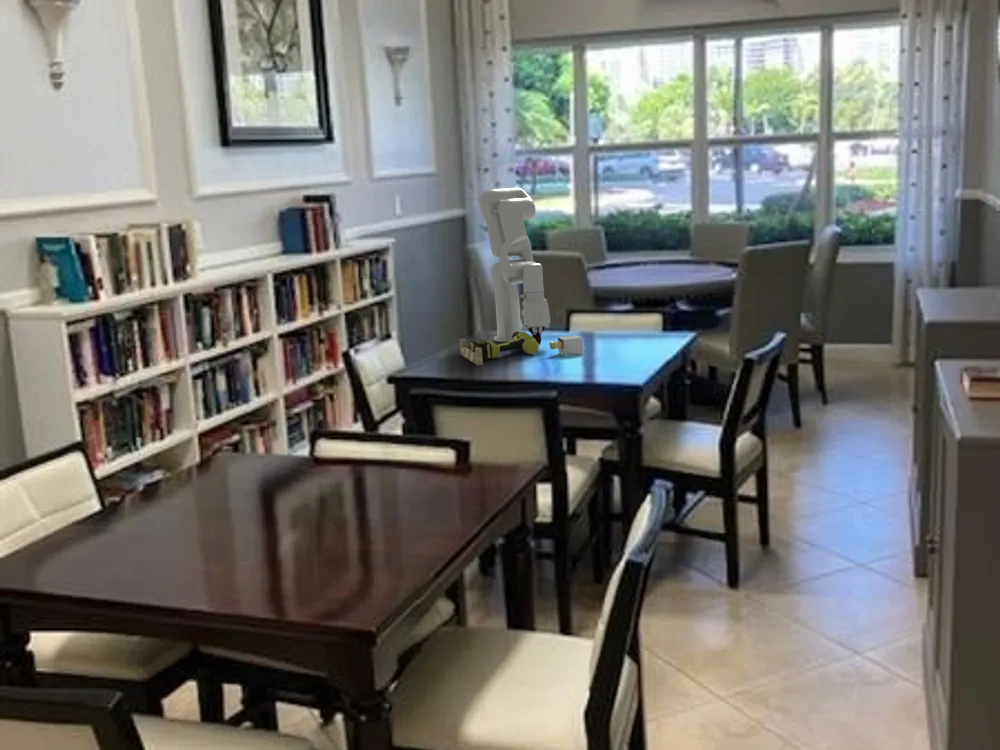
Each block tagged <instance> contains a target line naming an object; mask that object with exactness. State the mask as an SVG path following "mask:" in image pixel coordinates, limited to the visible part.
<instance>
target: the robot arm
mask: <svg viewBox="0 0 1000 750" xmlns="http://www.w3.org/2000/svg"><path fill="white" fill-rule="evenodd" d="M479 208H480V212H481V214H482V216H483V220H484V221H485V224H486V227H487V232H488V239H489V247H490V251H491V254H492V256H493V257H495V258H497V259H498V261H496V262H495V263H494V264H493V265H492V266H491V268H490V273H491V280H492V284H493V290H494V299H495V302H494V303H495V317H496V331H497V332H496V333H497V334H496V335H495V336H494V337H493V341H494V342H502V343H507V342H508V341H512V340H513V339H512V335H513V333H514V332H517V331H518V332H522V331H524V332H525V331H527V332H529V333H530V334H531V336H532V337H533V338H535V339H536V341H537V342H538V343H539V346H540V345H541V342H542V334H543V332H544V330H545V329H548V328H550V324H551V316H550V315H551V314H550V309H549V304H548V300H547V298H545V291H544V290H545V289H544V274H543V273H544V272H543V265H542V264H541V263H538V262H535V261H534V257H533V252H532V251H533V250H532V246H531V242H530V238H529V237H528V235H527V230H526V229H527V228H526V227H525V226H526V225H525V221H524V220H531V219H533V218H534V217H535V215H536V205H535V203H534V200H533V198H531V196H530V195H529V194H528V193H527V192H526V191H525V190H524V189H523V188H521V187H516V186H515V187H501V188H490V189H487V190H485V191H483V192H482V193H481V194H480V197H479ZM515 257H516V258H518V259H511V260H510V259H509V258H515ZM518 284H519V285H520V284H522V286H523V292H522V294H520V295H519V292H518V291H517V290H516V288H515V287H514V286H513V285H518ZM520 298H521V299H523V300H522V304H521V306H520ZM520 308H521V309H520ZM521 325H522V326H521Z"/></svg>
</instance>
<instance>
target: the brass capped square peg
mask: <svg viewBox="0 0 1000 750" xmlns="http://www.w3.org/2000/svg"><path fill="white" fill-rule="evenodd" d="M549 348H550V350H557V349H558V348H563V341H558V340H556V341H550V342H549Z"/></svg>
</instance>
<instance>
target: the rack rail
mask: <svg viewBox="0 0 1000 750" xmlns="http://www.w3.org/2000/svg"><path fill="white" fill-rule="evenodd" d="M467 347H468V346H467V339H466V338H459V349H460V350H459V351H460V356H462V357H464V358H466V359H467V360H468V361H470V362H472V363H473V364H475V365H476V366H477V367H479V366H483V365H484V363H483V362H484V361H483V360H482V348H475V353H474V352H473V351H471V350H470V348H467Z"/></svg>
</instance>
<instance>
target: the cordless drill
mask: <svg viewBox="0 0 1000 750" xmlns="http://www.w3.org/2000/svg"><path fill="white" fill-rule="evenodd" d="M512 339H513V340H512V341H508V342H503V343H500V344H496V343H494V342H493V341H492V340H489V339H488V340H484V339H476V340H475V339H474V340H473V341H470V342H469V350H471V351H473V352H474V353H475V348H482V360H483V362H486V361H488V360H489V359H494V358H497V357H498V355H499V353H501V352H502V353H503V352H506V351H512V350H514V351H515V350H520V351H522V352H524V353H526V354H528V355H534V354H535V353H536V352H538V350H539V348H540V345H539V343H538V342H537V341H536V339H535V338H533V337H532V335H530V334H529V333H527V332H525V331H521V332H518V331H517V332H514V333H513V335H512Z"/></svg>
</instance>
